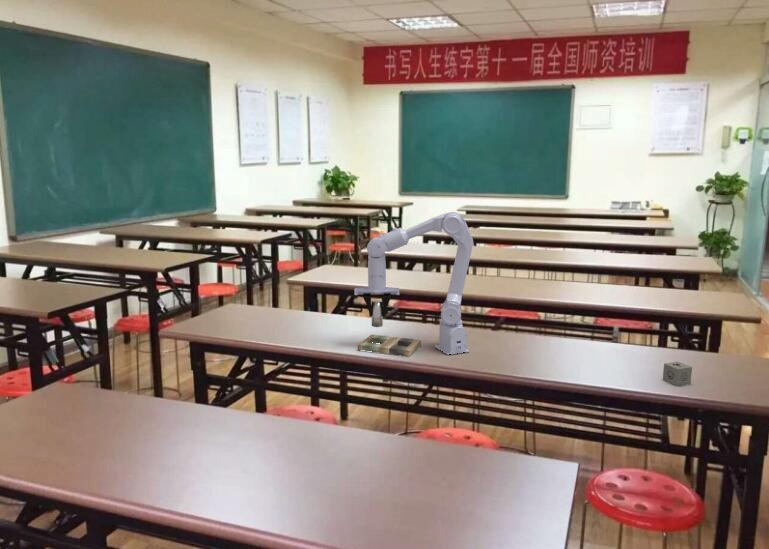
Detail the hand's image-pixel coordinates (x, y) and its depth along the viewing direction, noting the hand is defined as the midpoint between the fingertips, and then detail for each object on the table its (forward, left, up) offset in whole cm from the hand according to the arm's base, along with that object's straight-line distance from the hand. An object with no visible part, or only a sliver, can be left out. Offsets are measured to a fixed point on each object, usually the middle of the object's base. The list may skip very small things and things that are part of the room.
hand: (377, 316), depth 204 cm
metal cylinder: (0, 0, -3) cm, 3 cm away
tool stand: (-3, -3, -10) cm, 11 cm away
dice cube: (-62, -65, -11) cm, 90 cm away
